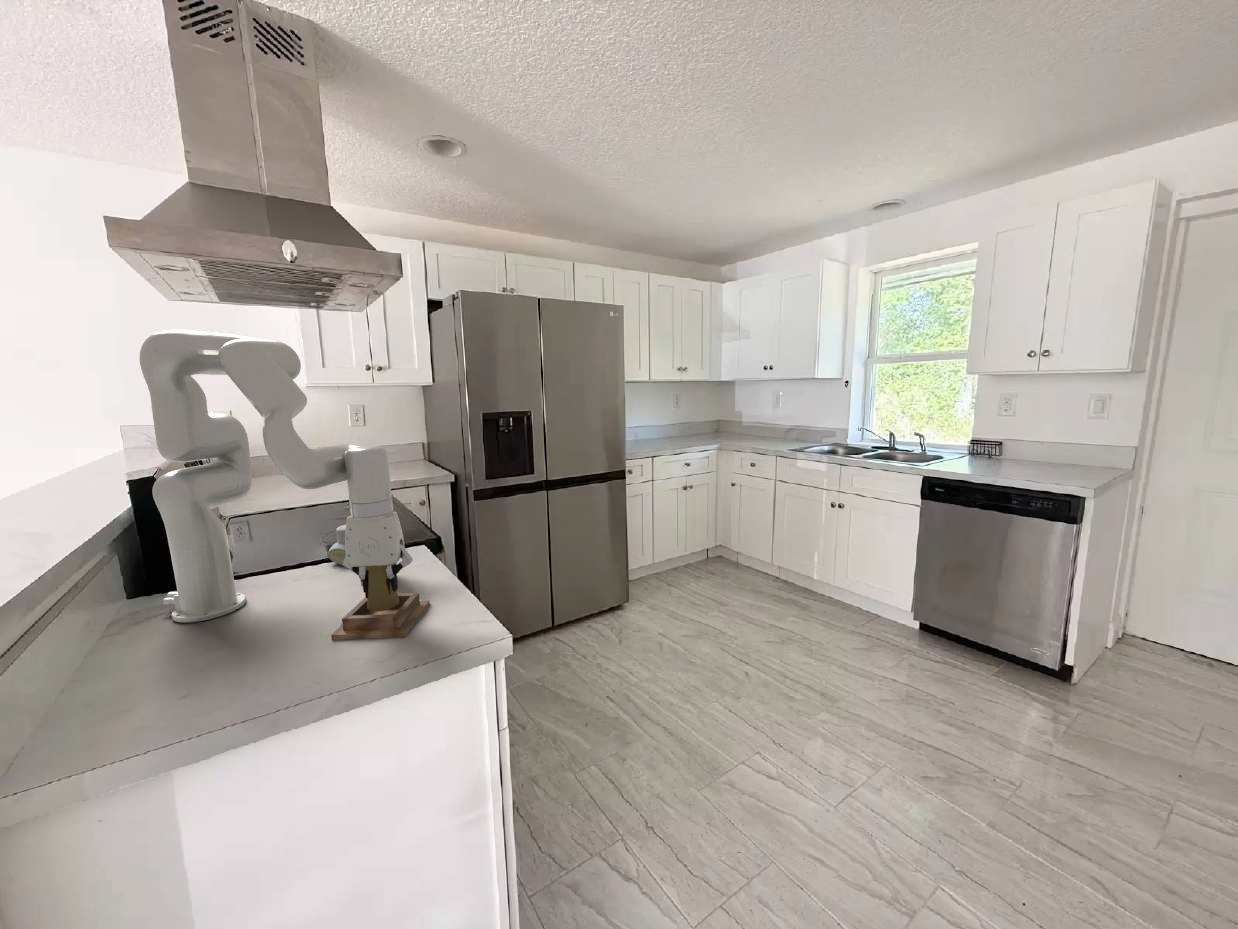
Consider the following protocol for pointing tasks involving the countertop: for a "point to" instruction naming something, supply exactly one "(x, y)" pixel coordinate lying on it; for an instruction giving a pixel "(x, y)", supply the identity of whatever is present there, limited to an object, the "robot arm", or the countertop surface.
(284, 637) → the countertop surface
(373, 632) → the walnut holder
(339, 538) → the pale green rounded piece
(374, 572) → the cork
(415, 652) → the countertop surface
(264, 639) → the countertop surface
